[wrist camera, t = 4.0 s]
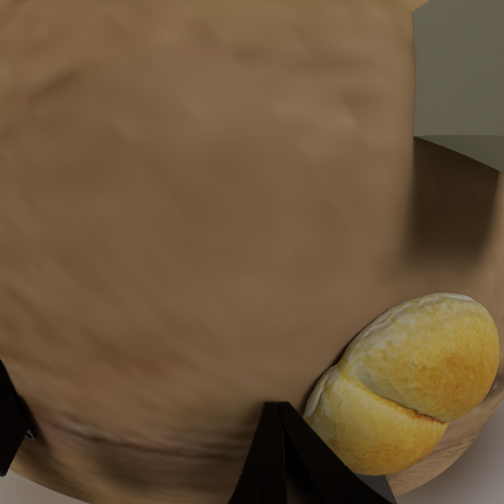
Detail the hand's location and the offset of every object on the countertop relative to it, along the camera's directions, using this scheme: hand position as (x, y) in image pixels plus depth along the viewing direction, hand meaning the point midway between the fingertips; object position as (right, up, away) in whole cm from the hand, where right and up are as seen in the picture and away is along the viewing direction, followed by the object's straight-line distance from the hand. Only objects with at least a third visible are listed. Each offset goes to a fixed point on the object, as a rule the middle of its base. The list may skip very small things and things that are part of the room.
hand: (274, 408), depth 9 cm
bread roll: (+6, 0, +2) cm, 6 cm away
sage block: (+7, +11, -2) cm, 13 cm away
